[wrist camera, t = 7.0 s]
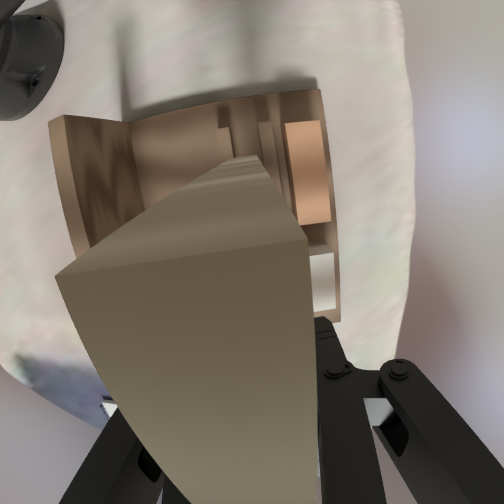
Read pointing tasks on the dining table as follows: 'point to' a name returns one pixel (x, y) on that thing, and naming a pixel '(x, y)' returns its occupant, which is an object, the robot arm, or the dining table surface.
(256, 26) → the dining table surface
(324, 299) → the grey mdf offcut
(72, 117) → the walnut rack
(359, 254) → the dining table surface
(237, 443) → the birch sheet
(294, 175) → the cherry offcut
